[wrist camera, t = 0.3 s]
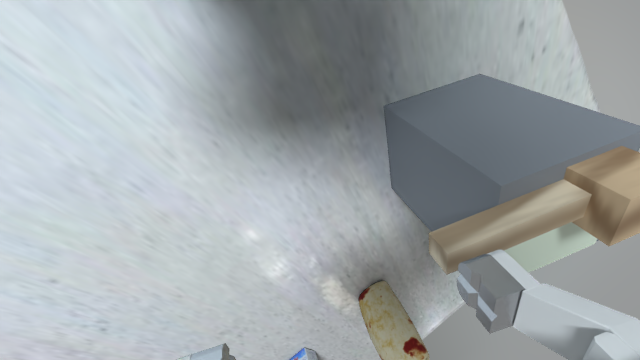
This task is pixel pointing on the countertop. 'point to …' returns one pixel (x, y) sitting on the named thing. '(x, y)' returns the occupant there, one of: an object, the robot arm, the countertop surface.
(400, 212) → the countertop surface
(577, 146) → the stand
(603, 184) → the mallet
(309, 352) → the medicine box
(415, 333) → the food model
